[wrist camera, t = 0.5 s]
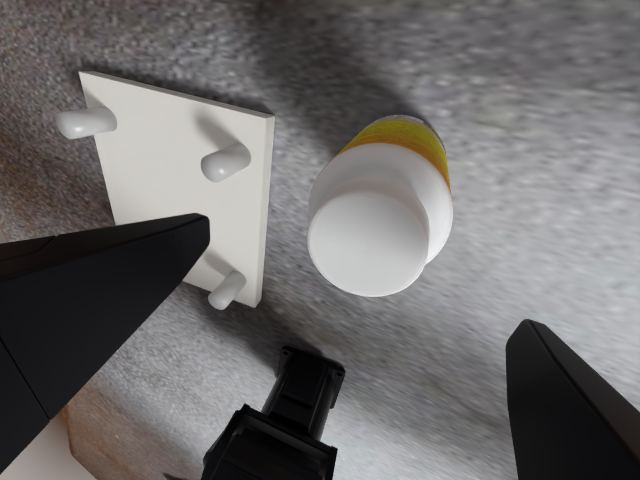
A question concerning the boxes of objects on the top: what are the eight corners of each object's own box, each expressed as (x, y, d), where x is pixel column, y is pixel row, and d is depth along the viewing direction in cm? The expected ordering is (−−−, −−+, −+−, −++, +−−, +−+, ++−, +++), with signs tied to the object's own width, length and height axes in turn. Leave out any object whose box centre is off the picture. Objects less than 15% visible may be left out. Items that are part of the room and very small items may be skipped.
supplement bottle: (347, 116, 18) (270, 165, 9) (450, 109, 16) (470, 161, 8) (352, 205, 20) (295, 305, 12) (441, 207, 19) (448, 326, 10)
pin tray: (261, 299, 28) (236, 332, 24) (134, 252, 30) (95, 277, 27) (275, 115, 19) (240, 127, 16) (94, 71, 21) (30, 72, 18)
